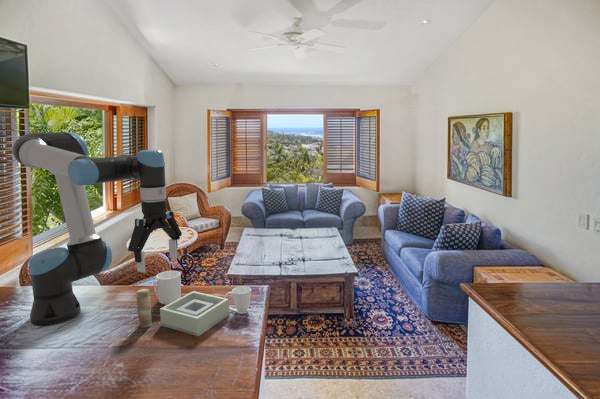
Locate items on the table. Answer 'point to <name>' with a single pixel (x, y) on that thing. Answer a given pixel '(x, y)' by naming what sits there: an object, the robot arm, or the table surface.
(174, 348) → the table surface
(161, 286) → the mug
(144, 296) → the peg
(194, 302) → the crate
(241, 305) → the cup
